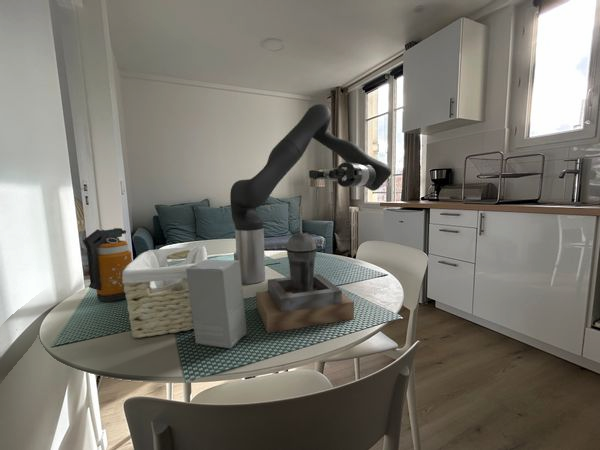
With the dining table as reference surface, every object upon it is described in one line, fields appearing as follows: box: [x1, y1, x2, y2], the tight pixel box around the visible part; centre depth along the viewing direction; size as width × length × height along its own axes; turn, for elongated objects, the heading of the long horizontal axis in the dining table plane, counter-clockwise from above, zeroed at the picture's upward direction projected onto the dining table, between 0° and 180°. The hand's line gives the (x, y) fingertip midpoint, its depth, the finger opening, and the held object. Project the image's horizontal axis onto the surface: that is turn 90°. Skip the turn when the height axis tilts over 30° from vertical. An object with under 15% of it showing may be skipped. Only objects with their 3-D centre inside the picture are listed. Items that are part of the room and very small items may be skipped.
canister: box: [82, 227, 133, 303], centre depth 80 cm, size 9×11×20 cm
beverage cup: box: [286, 213, 318, 294], centre depth 68 cm, size 7×7×20 cm
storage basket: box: [122, 245, 208, 339], centre depth 69 cm, size 24×16×15 cm
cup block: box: [255, 273, 355, 334], centre depth 69 cm, size 20×14×7 cm
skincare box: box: [186, 259, 248, 349], centre depth 56 cm, size 8×7×16 cm
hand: (321, 173), depth 79 cm, fingers open, 8 cm apart
